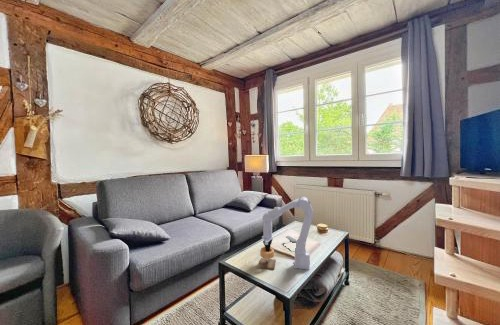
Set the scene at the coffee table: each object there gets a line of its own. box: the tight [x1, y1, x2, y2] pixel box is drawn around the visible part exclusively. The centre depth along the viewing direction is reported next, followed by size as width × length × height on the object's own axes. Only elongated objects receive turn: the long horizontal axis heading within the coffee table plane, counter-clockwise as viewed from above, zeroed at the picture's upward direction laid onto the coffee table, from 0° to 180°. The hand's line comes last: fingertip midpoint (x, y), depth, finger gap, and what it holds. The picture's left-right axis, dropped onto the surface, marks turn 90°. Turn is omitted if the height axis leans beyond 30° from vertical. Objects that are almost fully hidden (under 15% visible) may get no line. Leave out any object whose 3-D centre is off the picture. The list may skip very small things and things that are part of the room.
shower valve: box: [285, 235, 297, 243], centre depth 162 cm, size 12×6×15 cm
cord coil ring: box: [259, 246, 275, 259], centre depth 136 cm, size 8×8×4 cm
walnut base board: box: [257, 257, 277, 270], centre depth 137 cm, size 10×10×1 cm
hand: (267, 250), depth 140 cm, fingers closed on cord coil ring
